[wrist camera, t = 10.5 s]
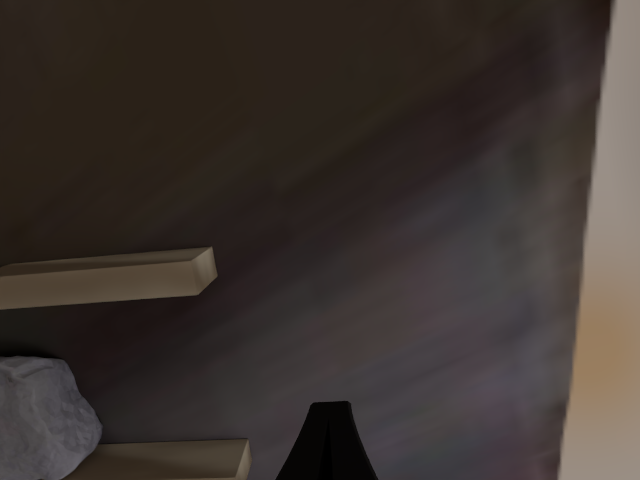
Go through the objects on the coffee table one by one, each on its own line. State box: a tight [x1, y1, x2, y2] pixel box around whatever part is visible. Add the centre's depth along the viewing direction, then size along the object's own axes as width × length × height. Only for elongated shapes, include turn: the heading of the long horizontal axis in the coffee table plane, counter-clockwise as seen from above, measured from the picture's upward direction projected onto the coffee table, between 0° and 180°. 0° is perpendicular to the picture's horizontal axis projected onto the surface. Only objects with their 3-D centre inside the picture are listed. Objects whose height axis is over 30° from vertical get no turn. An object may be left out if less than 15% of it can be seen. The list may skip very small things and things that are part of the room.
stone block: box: [0, 356, 103, 480], centre depth 23 cm, size 12×5×10 cm
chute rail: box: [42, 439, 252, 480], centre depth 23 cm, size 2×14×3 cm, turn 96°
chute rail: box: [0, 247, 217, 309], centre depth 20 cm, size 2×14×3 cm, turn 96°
